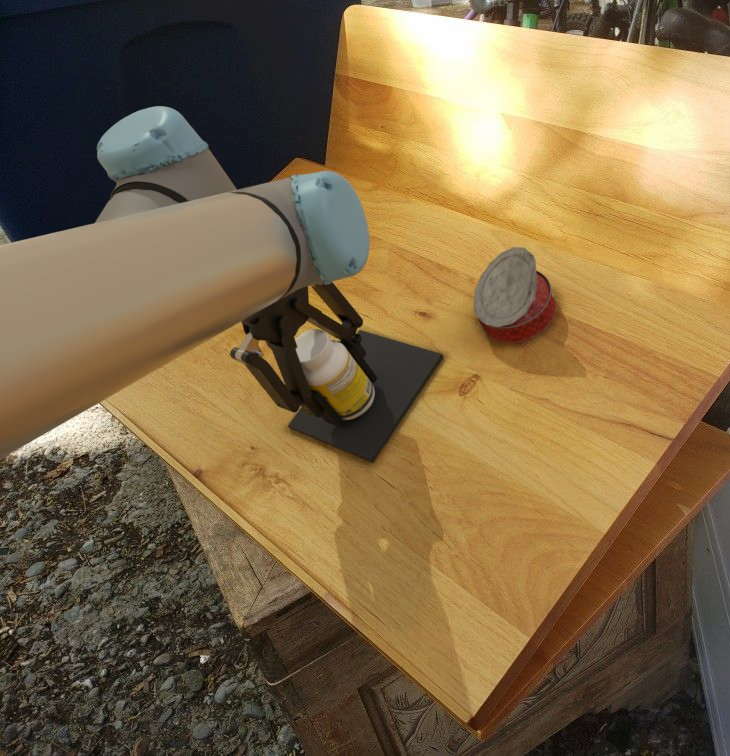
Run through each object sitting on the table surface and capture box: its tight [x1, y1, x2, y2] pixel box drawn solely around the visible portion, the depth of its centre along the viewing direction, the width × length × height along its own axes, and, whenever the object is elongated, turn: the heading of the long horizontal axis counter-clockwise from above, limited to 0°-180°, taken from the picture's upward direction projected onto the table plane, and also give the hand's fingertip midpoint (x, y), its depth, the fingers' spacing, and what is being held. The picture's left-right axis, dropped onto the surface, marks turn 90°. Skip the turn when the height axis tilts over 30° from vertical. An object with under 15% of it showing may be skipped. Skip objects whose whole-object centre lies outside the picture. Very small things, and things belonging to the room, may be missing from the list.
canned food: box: [473, 246, 557, 344], centre depth 83 cm, size 11×10×10 cm
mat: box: [287, 329, 444, 463], centre depth 85 cm, size 16×14×1 cm
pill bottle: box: [295, 328, 375, 420], centre depth 79 cm, size 6×6×11 cm
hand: (351, 399), depth 83 cm, fingers closed on pill bottle, 6 cm apart
